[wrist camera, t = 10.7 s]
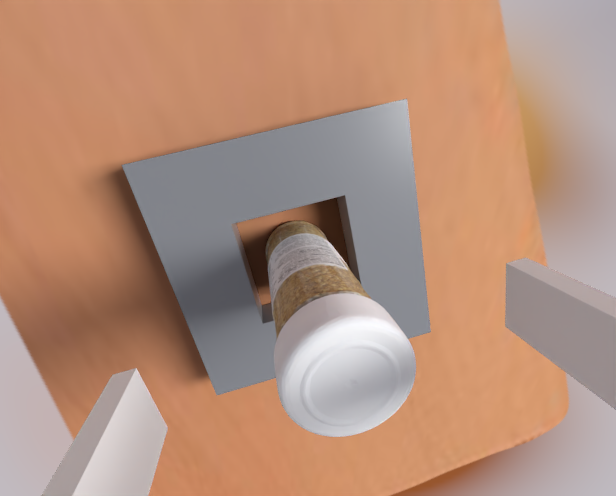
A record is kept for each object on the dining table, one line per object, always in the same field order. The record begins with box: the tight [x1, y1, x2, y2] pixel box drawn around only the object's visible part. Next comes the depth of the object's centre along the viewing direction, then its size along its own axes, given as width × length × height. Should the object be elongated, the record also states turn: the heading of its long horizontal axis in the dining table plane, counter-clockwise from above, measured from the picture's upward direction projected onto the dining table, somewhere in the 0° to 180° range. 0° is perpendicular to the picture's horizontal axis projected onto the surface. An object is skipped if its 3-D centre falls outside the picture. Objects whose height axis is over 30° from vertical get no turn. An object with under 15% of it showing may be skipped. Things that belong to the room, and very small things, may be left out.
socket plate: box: [122, 99, 431, 395], centre depth 21 cm, size 16×16×2 cm
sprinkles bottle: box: [265, 221, 416, 437], centre depth 16 cm, size 5×5×13 cm
